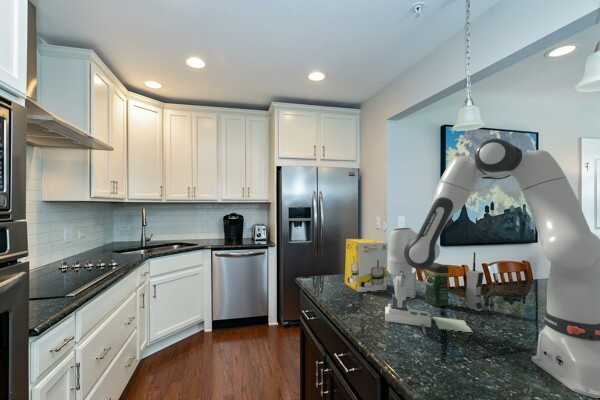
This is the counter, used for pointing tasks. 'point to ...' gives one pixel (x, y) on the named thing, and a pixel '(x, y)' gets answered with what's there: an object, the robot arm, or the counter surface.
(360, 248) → the packaging box
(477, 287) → the vintage mobile phone
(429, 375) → the counter surface
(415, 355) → the counter surface
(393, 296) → the block
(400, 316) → the power strip
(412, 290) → the supplement box
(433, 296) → the coffee jar
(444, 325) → the mat
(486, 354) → the counter surface
